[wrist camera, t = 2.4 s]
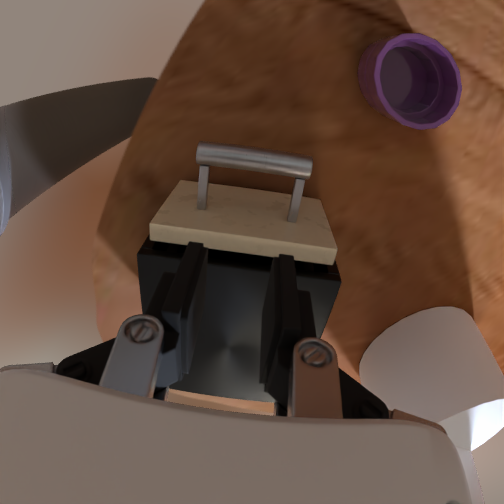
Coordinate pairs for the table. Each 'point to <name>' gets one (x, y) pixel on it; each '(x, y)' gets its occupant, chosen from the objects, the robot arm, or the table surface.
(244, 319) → the cabinet
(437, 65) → the bowl
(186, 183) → the drawer
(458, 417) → the cylinder
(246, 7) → the table surface
